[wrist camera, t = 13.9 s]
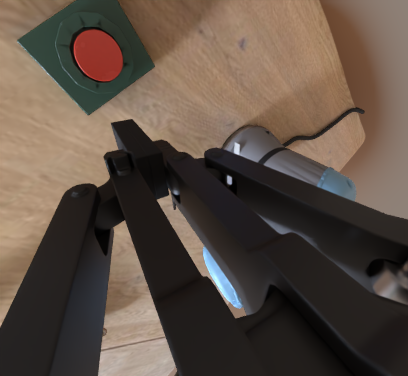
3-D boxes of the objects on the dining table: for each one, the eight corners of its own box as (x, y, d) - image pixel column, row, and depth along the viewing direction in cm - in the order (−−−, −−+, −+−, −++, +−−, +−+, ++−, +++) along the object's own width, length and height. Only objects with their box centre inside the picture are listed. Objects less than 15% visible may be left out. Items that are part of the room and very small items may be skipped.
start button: (98, 20, 22) (101, 19, 20) (128, 64, 25) (131, 66, 24) (62, 45, 21) (62, 46, 20) (96, 87, 25) (98, 90, 23)
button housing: (103, -17, 23) (109, -25, 20) (150, 65, 29) (160, 67, 26) (19, 40, 22) (12, 40, 19) (86, 112, 28) (89, 120, 26)
